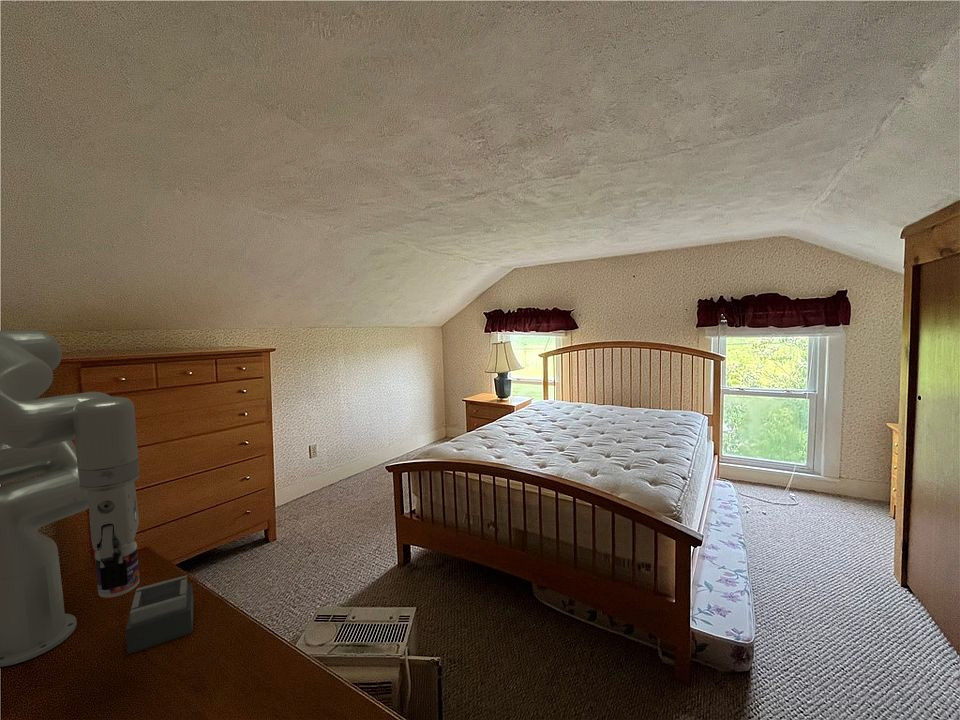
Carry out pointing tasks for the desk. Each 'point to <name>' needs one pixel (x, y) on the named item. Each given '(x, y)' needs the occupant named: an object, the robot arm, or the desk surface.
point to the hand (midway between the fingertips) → (118, 575)
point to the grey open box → (160, 614)
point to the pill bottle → (132, 571)
